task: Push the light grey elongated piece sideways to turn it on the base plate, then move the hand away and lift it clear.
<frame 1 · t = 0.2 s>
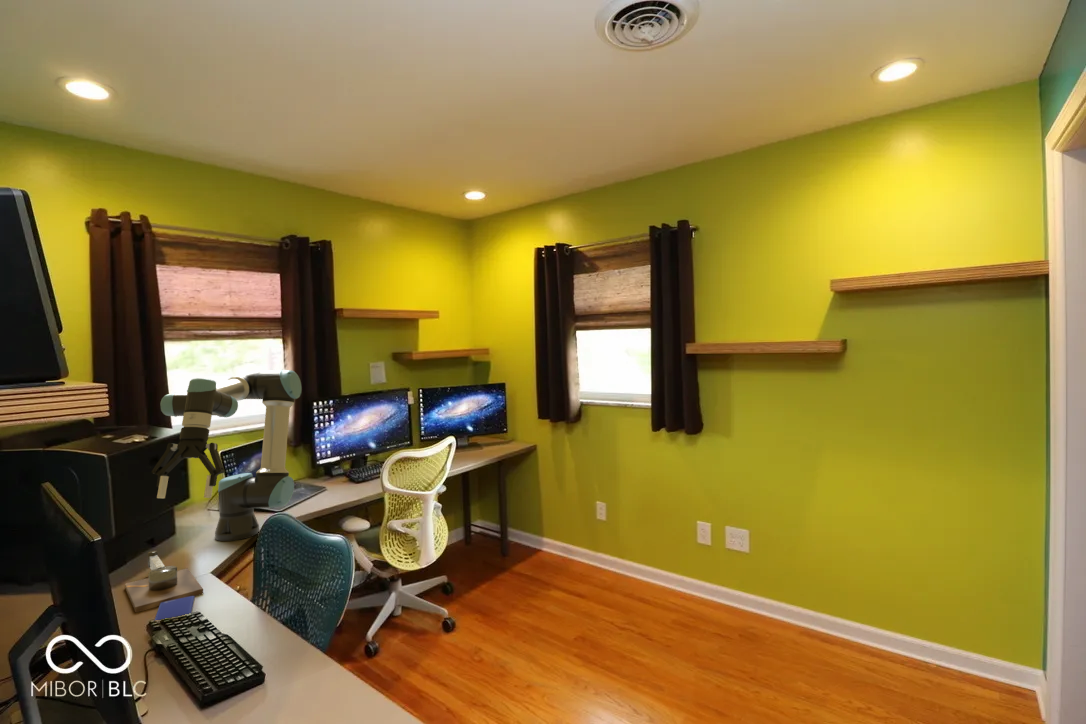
hand: (184, 498, 164), 27 cm above the table, tool tilted 15°, fingers open, 13 cm apart
base plate: (163, 591, 162), on the table
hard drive: (175, 613, 149), on the table
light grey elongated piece: (158, 568, 168), point 4 cm above the table, hinge at 0.0°
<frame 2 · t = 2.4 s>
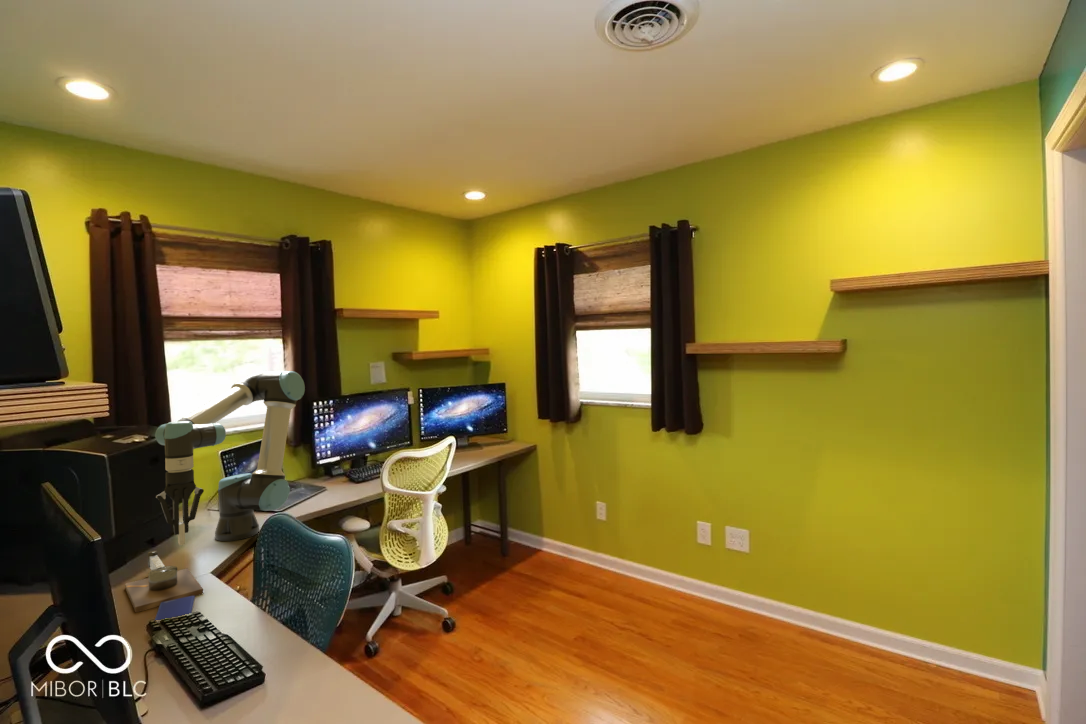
hand: (181, 543, 175), 10 cm above the table, tool pointing down, fingers closed
nothing on the table moved.
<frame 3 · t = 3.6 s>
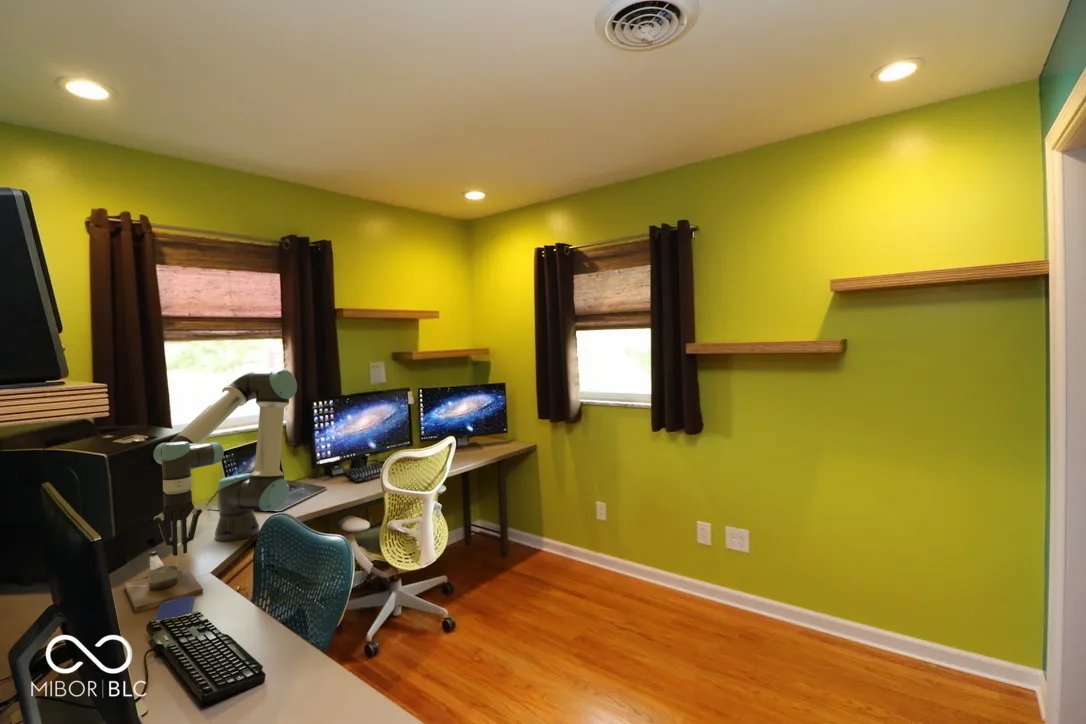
hand: (180, 564, 175), 3 cm above the table, tool pointing down, fingers closed
nothing on the table moved.
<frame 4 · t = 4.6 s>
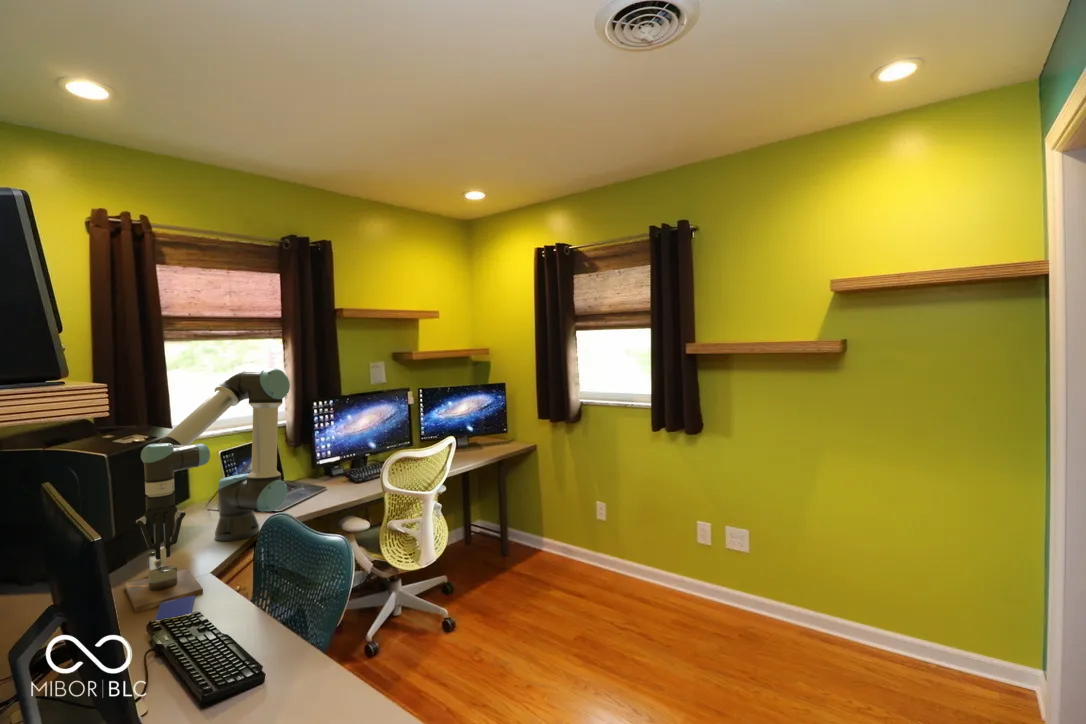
hand: (163, 568, 171), 3 cm above the table, tool pointing down, fingers closed
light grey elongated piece: (158, 569, 168), point 4 cm above the table, hinge at 0.4°, touching gripper
everything else where it was.
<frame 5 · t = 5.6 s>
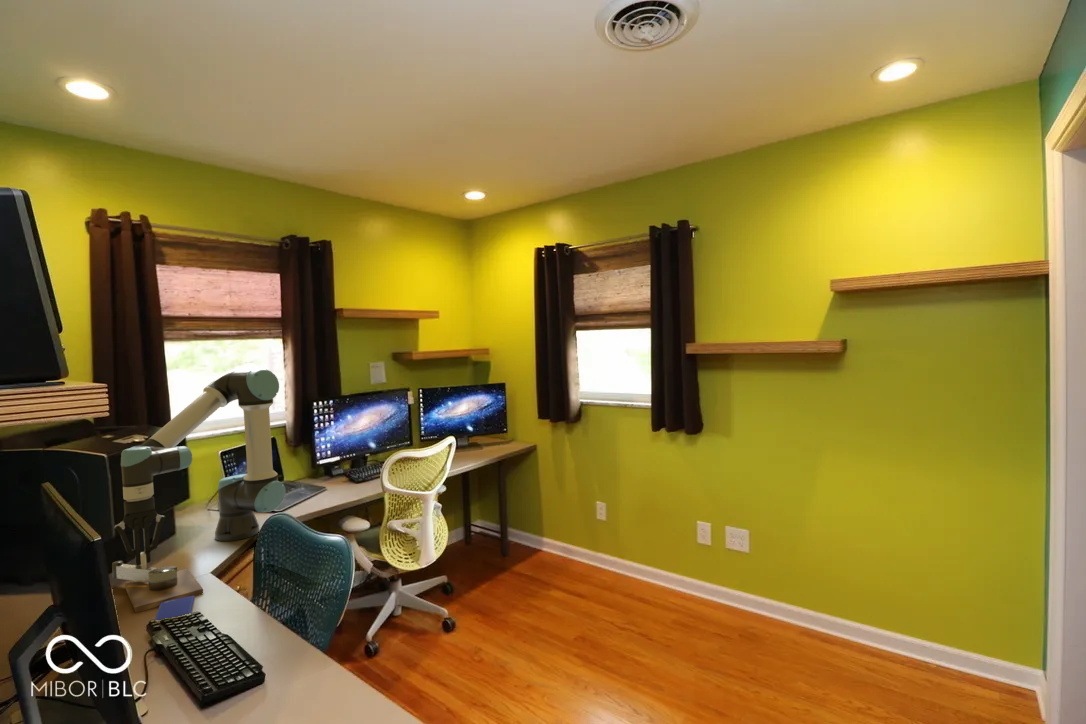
hand: (143, 574, 168), 3 cm above the table, tool pointing down, fingers closed
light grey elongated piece: (142, 573, 165), point 4 cm above the table, hinge at 29.8°, touching gripper
everything else where it was.
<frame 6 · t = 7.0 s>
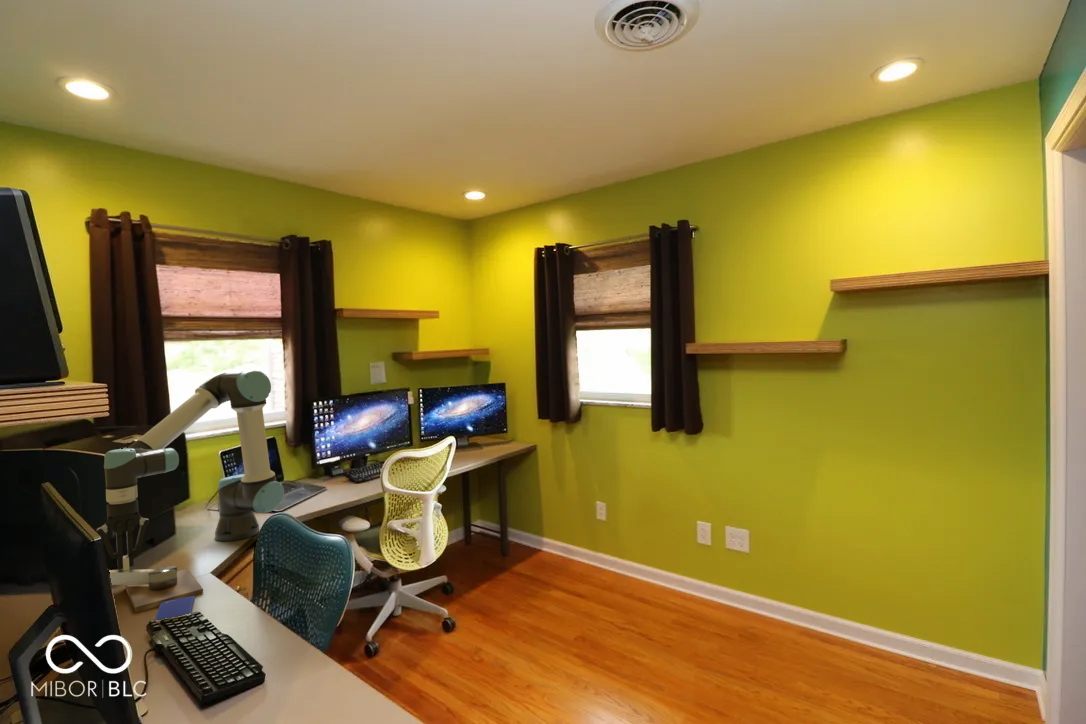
hand: (126, 578, 165), 3 cm above the table, tool pointing down, fingers closed
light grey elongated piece: (136, 576, 163), point 4 cm above the table, hinge at 45.7°, touching gripper
everything else where it was.
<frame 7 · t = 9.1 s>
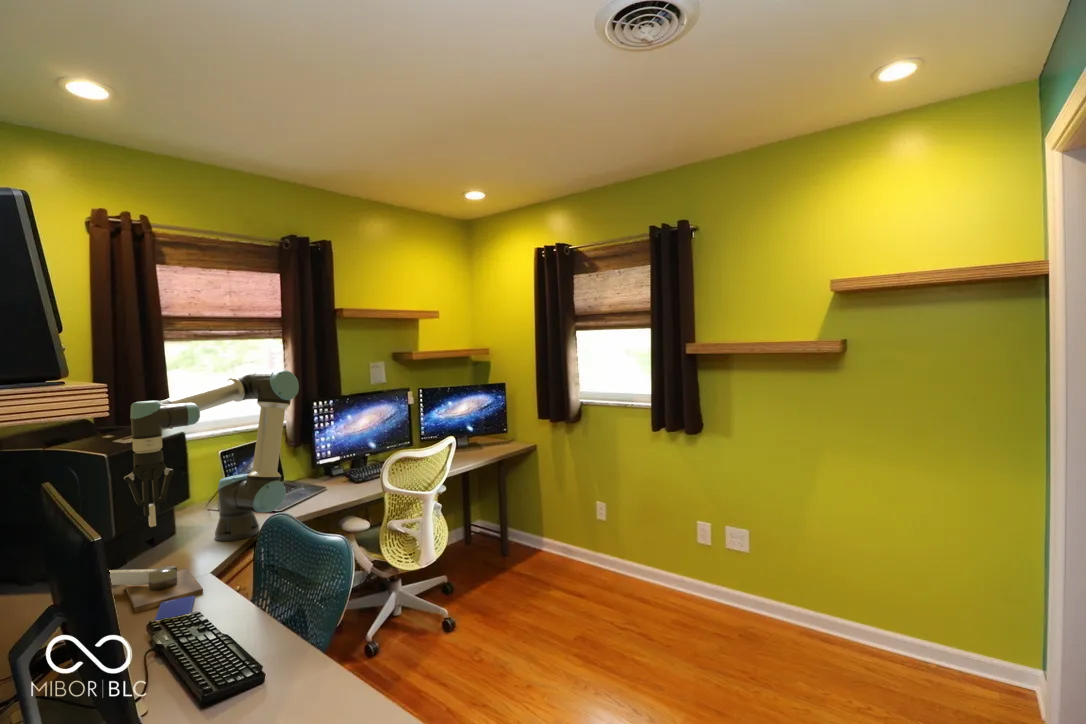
hand: (152, 525, 171), 17 cm above the table, tool pointing down, fingers closed
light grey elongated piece: (136, 576, 163), point 4 cm above the table, hinge at 45.7°
everything else where it was.
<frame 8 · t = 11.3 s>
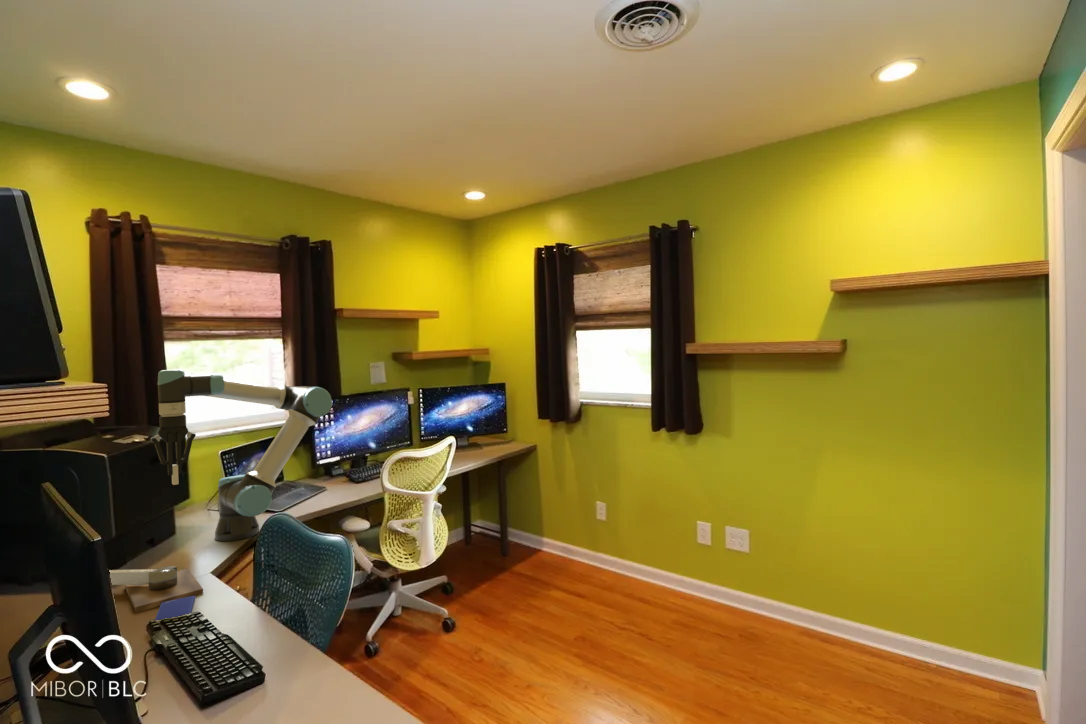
hand: (175, 483, 186), 26 cm above the table, tool pointing down, fingers closed
nothing on the table moved.
at the end: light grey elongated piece at +46° (first picture: +0°); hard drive moved 0.8 cm from its start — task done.
